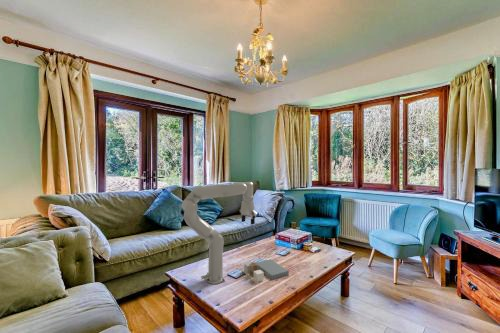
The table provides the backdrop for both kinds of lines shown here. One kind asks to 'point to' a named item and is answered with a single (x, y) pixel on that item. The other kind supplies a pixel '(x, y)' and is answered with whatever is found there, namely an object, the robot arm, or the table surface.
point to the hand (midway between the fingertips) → (247, 222)
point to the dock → (272, 269)
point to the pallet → (252, 271)
